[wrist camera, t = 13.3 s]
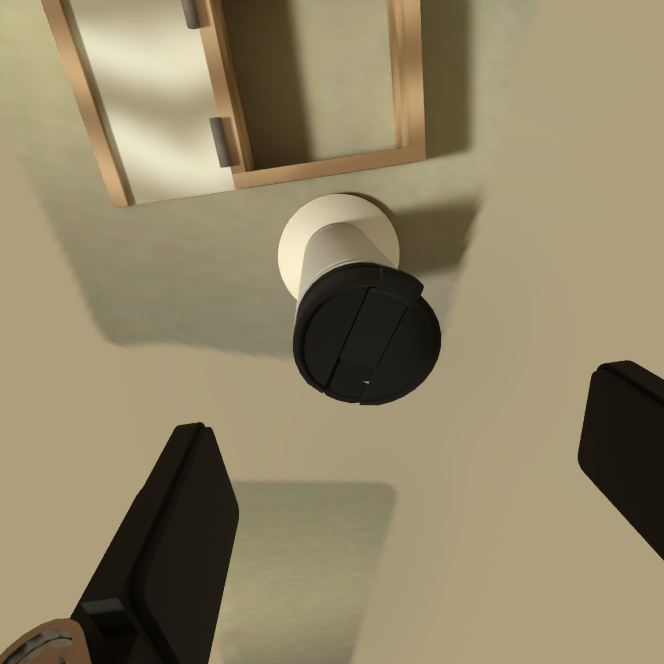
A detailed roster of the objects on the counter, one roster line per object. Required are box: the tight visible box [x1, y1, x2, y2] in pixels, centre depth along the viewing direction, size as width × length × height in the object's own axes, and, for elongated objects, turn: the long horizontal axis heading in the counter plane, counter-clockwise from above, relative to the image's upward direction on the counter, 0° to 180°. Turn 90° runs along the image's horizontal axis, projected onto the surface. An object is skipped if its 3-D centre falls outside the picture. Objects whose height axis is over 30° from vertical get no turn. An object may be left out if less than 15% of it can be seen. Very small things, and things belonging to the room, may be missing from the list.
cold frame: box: [41, 0, 426, 208], centre depth 26 cm, size 14×25×6 cm, turn 98°
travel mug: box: [293, 223, 441, 405], centre depth 24 cm, size 6×7×20 cm
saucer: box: [278, 194, 399, 299], centre depth 33 cm, size 11×11×1 cm
